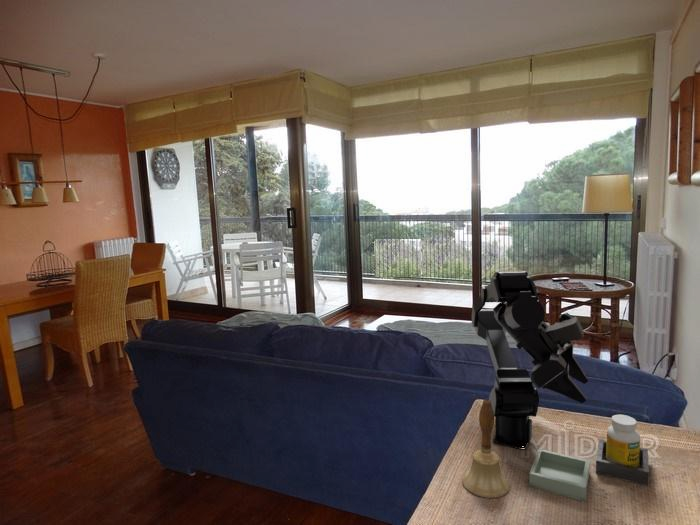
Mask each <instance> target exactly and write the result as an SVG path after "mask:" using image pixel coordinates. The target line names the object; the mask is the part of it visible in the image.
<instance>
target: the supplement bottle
mask: <svg viewBox="0 0 700 525" xmlns="http://www.w3.org/2000/svg"><path fill="white" fill-rule="evenodd" d="M610 424H611V425H609V426H608V428H607V430H606V441H607V443H606V455H605V460H607V461H611V462H615V463H620V464H624V465H629V466H633V467H637V468H640V462H639V453H640V448H641V434H640V433H639V431H638V430H637V428H638V426H637V424H638V422H637V420H636V419H635V418H634V417H631V416H630V415H626V414H615V415H612V416H611V419H610Z"/></svg>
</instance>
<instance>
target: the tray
mask: <svg viewBox="0 0 700 525" xmlns="http://www.w3.org/2000/svg"><path fill="white" fill-rule="evenodd" d="M531 465H532V466H531V469H530V471H529V479H528V480H529V483H528V486H529V487H530V488H535V489H538V490H541V491H546V492H548V493H552V494H556V495H560V496H563V497H568V498H571V499H575V500H579V501H582V502H586V499H587V492H588V486H589V478H590V473H591V471H590V470H591V467H590V466H591V460H589V459H586V458H581V457H576V456H572V455H568V454H563V453H560V452H556V451H551V450H546V449H543V448H542V449H541V448H537V451H536V454H535V456H534V460H533V462H532V464H531Z"/></svg>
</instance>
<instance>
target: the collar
mask: <svg viewBox="0 0 700 525" xmlns="http://www.w3.org/2000/svg"><path fill="white" fill-rule="evenodd" d="M606 443H607V440H606V439H605V440H603V439H598V445H597V452H596V461H595V474H599V475H602V476H603V475H604V476H606V477H609V478H610V477H612V478H616V479H619V480H623V481H628V482H631V483H636V484H640V485H644V486H649V478H650V477H649V476H650V475H649V474H650V471H649V470H650V469H649V468H650V466H649V450H648V449H647V448H643V447H640V453H639V463H641V467H639V468H637V467H633V466H629V465H624V464H620V463H615V462H611V461H607V460H606V459H603V457H604V455H605V456H606Z"/></svg>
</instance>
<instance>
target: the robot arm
mask: <svg viewBox="0 0 700 525" xmlns="http://www.w3.org/2000/svg"><path fill="white" fill-rule="evenodd" d="M540 293H541V292H540V291H539V289H538V287H537V285H536V284H535V281H534V280H533V277H532V276H531V275H529V272H528V271H527V270H511V271H510V270H508V271H506V270H505V271H503V270H502V271H495V272H494V273H493V275H492V276H491V277H490V283H489V284H488V285H484V286H481V288H480V295H479V296H478V297H477V299H476V300H475V301H474V302H473V304H472V310H471V325H472V328H474V330H475V332H476V335H477V336H478V337H480V338H481V339H483V340H485V342H486V346H487V348H488V352H489V356H490V359H491V362H492V365H493V368H494V372H495V377H494V386H493V388H491V391H490V394H489V395H488V400H490V401H491V405H492V408H493V411H494V425H495V426H494V427H495V430H494V437H493V438H492V442H493V443H494V444H499V445H503V446H507V447H511V448H515V447H517V448H516V449H519V448H525V447H526V445H527V446H528V444H530V443H531V441H532V437H533V420H532V418H530V417H534V418H535V417H537V413H538V410H539V404H540V398H541V394H539V392H538V389H541V388H542V389H548V390H550V391H553V392H555V393H557V394H559V395H563V396H565V397H567V398H569V399H571V400H574V401H576V402H578V403H581V404H583V403H585V402H586V401H587V398H586V396H585V394H584V393H583V392H582V391H581V389H580V388H579V386H578V385H577V384H576V383H575V381H574V380H573V379H575V380H576V381H578V382H579V383H582V384H583V385H585V384H588V382H589V379H588V377H587V375H586V374H585V372H584V370H583V369H582V367H581V366H580V363H579V362H578V360H577V359H576V357H575V355H574V346H575V345H574V342H573V341H577V342H578V341H579V340H582V339H583V338H584V337H585V336H584V334H585V331H584V329H583V326H582V325H581V321H580V319H579V318H578V317H577V316H572V315H571V314H570V313H569V312H564V313H561V314H559V316H558V317H559V318H558V322H555V323H554V324H551V325H548V324H547V323H546V322H545V321H544V320H545V316H546V314H545V309H544V307H543V305H542V304H541V302H540V301H539V300H540V295H541V294H540ZM486 303H498V304H496V306H494V307H493V308H484V307H485V305H486ZM506 333H507V334H508V335H509V336H511V337H512V339H513V340H514V341H516V344H515V346H516V348H517V349H519V350H521V349H523V350H524V351H525V352H526V353H527V354H528V355H529V356H530V357H531V359H532V360H531V363H532V365H534V366H533V368H532V370H531V372H530V373H529V371H528V370H527V369H526V368H518V365H517V363H516V361H515V358H514V356H513V352H512V349H511V347H510V344H509V342H508V341H509V340H508V339H507V336H506V335H507V334H506ZM567 344H568V345H567ZM572 378H573V379H572ZM535 386H536V387H535ZM527 443H528V444H527ZM522 446H524V447H522ZM526 448H527V447H526Z"/></svg>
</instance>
